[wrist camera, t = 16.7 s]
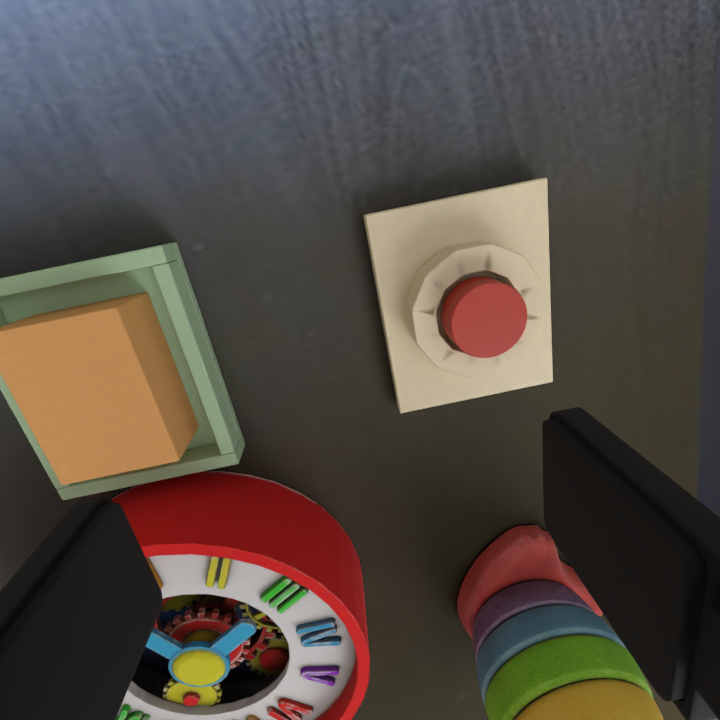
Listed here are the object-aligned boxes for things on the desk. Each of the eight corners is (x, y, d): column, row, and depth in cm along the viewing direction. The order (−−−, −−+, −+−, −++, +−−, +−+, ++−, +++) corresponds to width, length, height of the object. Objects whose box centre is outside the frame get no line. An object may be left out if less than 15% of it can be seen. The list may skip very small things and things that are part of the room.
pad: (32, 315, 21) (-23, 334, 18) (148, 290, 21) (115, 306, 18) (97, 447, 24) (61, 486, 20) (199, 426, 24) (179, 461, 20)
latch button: (436, 284, 20) (446, 291, 18) (509, 269, 20) (526, 274, 18) (445, 353, 21) (455, 365, 19) (514, 339, 21) (529, 350, 19)
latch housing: (362, 214, 21) (368, 215, 18) (535, 179, 21) (568, 174, 18) (396, 404, 25) (405, 429, 22) (543, 374, 25) (570, 395, 22)
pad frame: (-20, 282, 21) (-57, 290, 19) (176, 241, 21) (161, 245, 19) (82, 478, 25) (62, 501, 23) (245, 444, 25) (239, 464, 23)
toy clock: (218, 818, 28) (-74, 697, 22) (235, 719, 34) (5, 600, 28) (439, 666, 25) (160, 470, 19) (419, 582, 30) (198, 410, 24)
